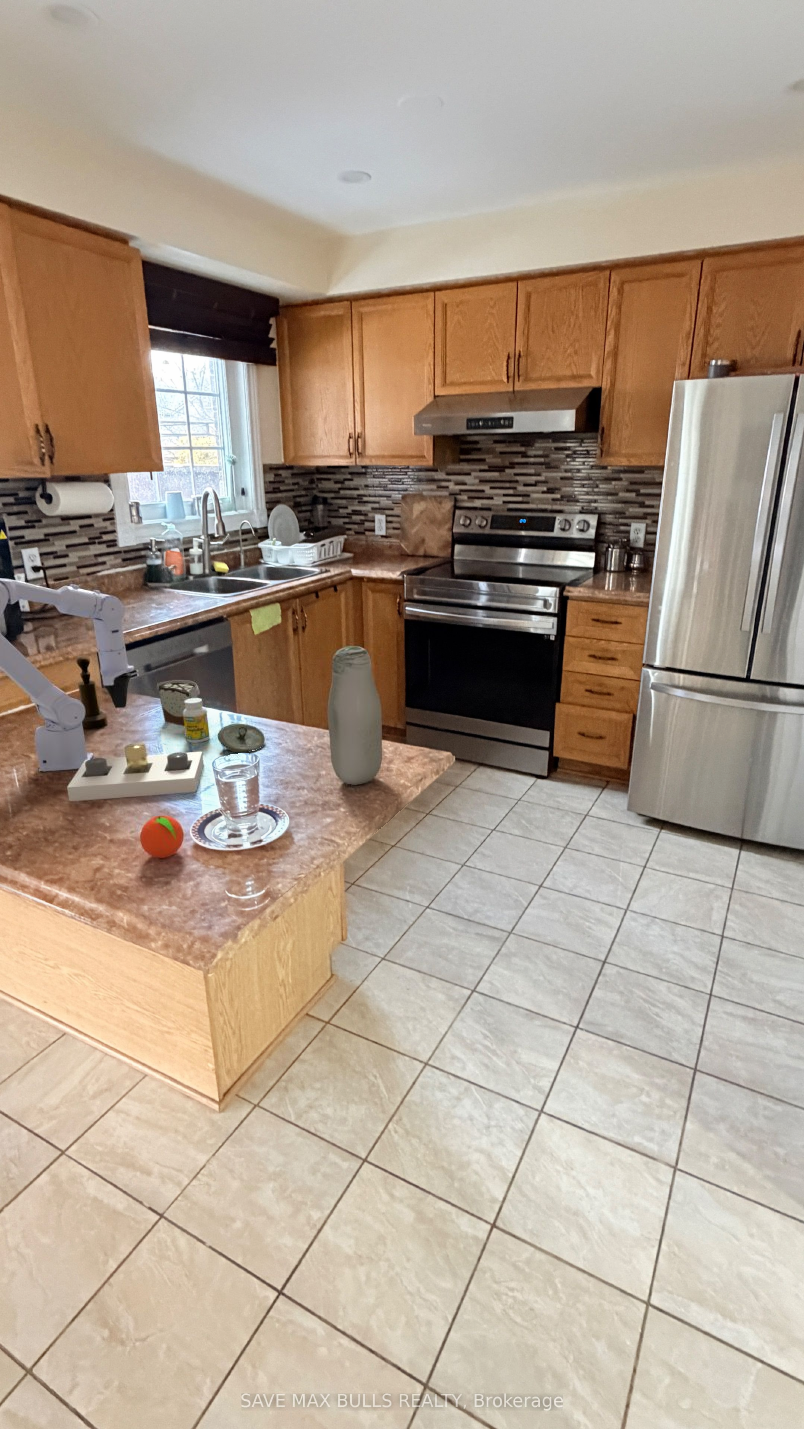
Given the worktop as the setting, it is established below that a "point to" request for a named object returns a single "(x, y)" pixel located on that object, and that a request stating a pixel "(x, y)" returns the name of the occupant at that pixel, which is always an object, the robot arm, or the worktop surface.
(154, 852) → the clementine
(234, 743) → the lid
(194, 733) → the supplement bottle
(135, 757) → the knob middle
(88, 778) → the housing
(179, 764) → the knob
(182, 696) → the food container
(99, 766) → the knob
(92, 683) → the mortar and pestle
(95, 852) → the worktop surface
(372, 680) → the grey bottle
